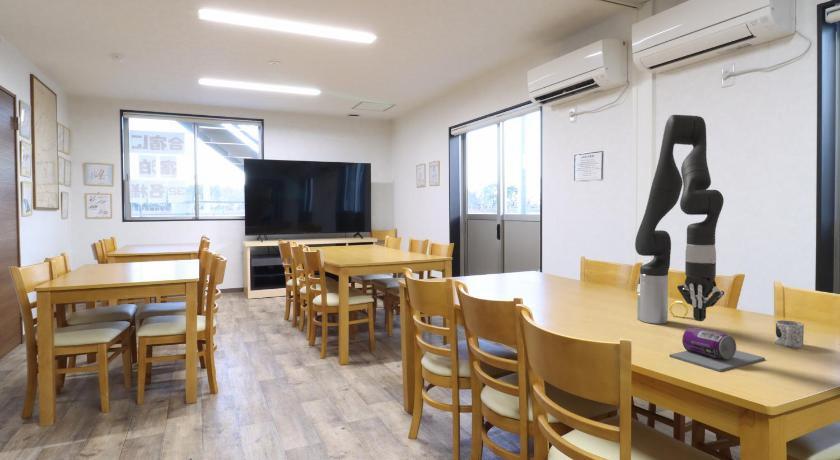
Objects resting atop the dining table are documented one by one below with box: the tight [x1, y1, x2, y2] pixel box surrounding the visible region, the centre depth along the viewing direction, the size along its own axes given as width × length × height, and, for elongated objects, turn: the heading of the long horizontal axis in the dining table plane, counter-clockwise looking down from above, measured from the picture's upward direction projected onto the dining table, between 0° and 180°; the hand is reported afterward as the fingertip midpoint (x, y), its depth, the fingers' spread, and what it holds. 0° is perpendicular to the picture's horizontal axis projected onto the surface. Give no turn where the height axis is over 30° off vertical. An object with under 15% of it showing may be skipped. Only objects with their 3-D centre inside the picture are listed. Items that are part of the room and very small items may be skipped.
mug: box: [775, 319, 805, 349], centre depth 144 cm, size 10×7×7 cm
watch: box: [669, 300, 689, 319], centre depth 182 cm, size 6×3×6 cm, turn 53°
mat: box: [669, 349, 766, 373], centre depth 133 cm, size 14×20×1 cm
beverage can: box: [681, 326, 737, 359], centre depth 134 cm, size 7×7×12 cm
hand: (699, 320), depth 137 cm, fingers closed
